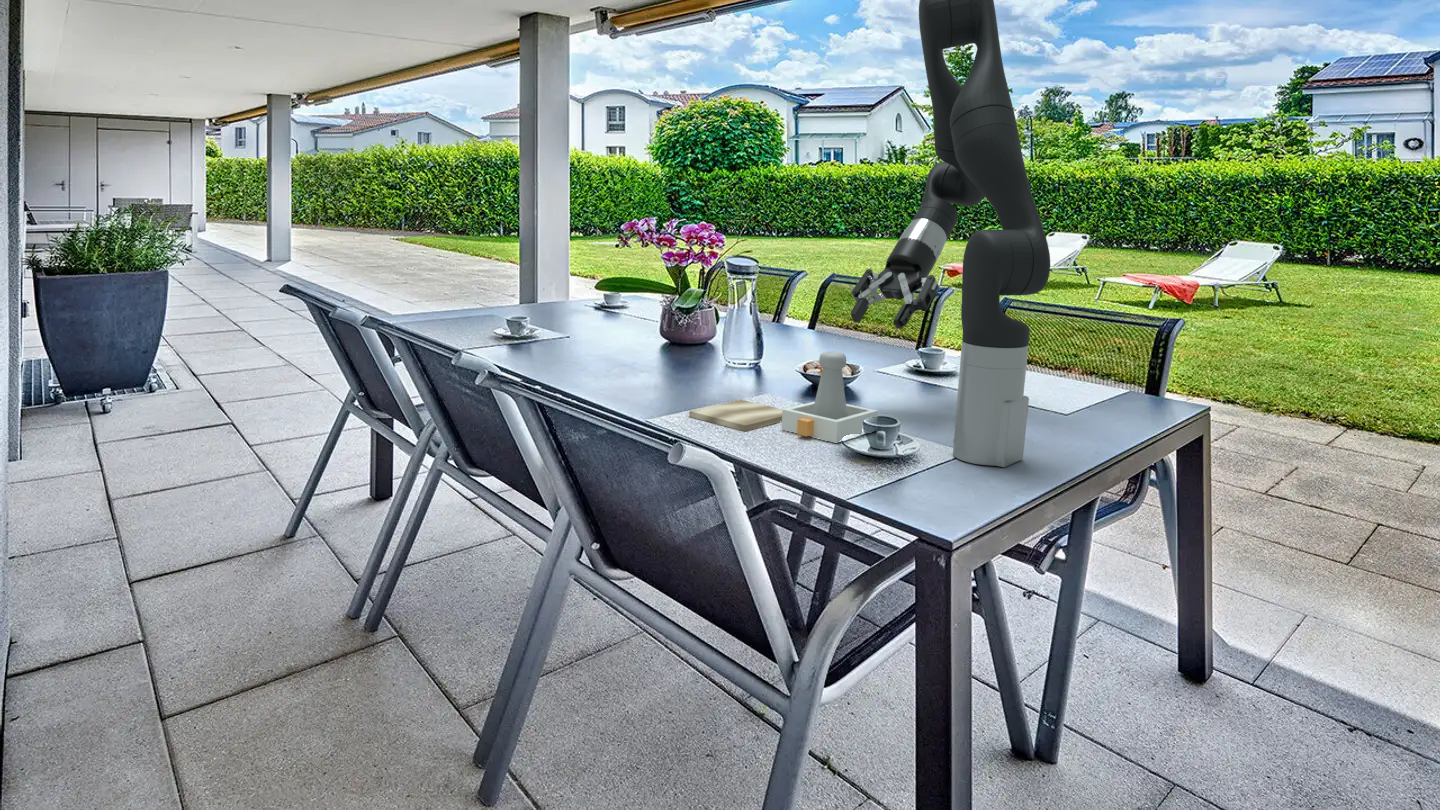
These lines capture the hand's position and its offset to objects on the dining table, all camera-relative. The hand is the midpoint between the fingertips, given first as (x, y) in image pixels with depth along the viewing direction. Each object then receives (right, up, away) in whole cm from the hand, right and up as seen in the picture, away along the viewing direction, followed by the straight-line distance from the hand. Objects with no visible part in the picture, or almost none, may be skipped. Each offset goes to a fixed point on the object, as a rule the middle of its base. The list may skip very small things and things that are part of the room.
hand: (875, 322), depth 150 cm
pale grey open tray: (-8, -18, -4) cm, 20 cm away
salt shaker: (-8, -18, -4) cm, 21 cm away
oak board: (-22, -16, +3) cm, 28 cm away
